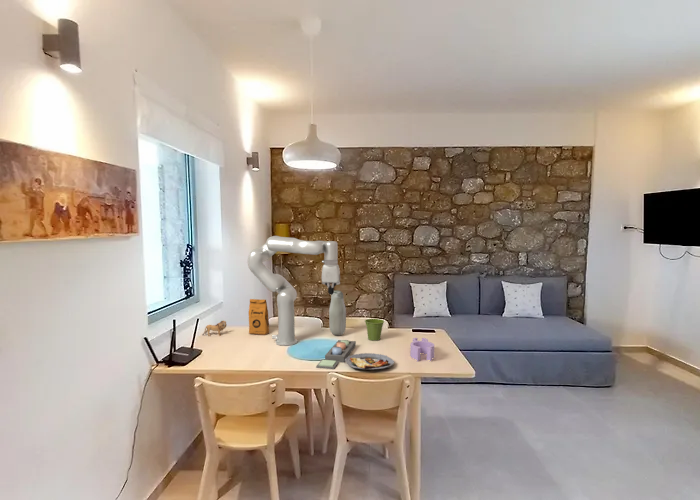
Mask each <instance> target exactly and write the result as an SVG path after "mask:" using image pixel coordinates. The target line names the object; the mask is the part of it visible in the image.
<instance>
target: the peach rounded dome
mask: <svg viewBox="0 0 700 500" xmlns="http://www.w3.org/2000/svg"><path fill="white" fill-rule="evenodd" d="M337 347H341V348H342V350H346V343H345V342H338V343H337Z"/></svg>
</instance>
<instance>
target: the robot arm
mask: <svg viewBox="0 0 700 500" xmlns="http://www.w3.org/2000/svg"><path fill="white" fill-rule="evenodd" d="M338 245H339V244H338V242H337V241H335V240H334V241H333V240H328V241H325V240H314V241H313V240H303V239H298V238H296V237H286V236H279V235H273V236H270V237H268V238H267V239H266V241H265V243H264V244H263V245H261V246H260V247H258V248H255V249H253V250H251V251H250V252H249V254H248V256H247V262H246V263H247V266H248V269H249V270H250V272H251V273H252V274H253V275H254V276H255V277H256V279H258V281H260V283H261V284H262V285H263V286H264V287H265V288H266V289H267V290H268V291H269V292H272V293H275V292H276V293H277V296H276V304H277V333H278V334H272V335H271V338H272V339H275V344H276V345H278V346H293V345H295V344H297V343H298V339H297V338H295V335H296V334H295V330H296V329H295V301H296V300H297V298H298V292H297V289H295V287H293V285H292V284H291V283H290V282H289V281H288V280H287V279H286V278H285V277H284V276H283V275H281V274H279V273H274V272H273V271H272V270H271V269H270V268H269V267H267V266H266V264H264V262H266V261H267V260H269V259H270V258H271V257H272V256H274V255H275V254H277V253H278V252H282V253H291V254H292V253H293V254H303V255H312V256H313V255H315V256H317V255H319V254H320V255H321V254H324V257H323V258H324V259H323V260H321V263H322V264H323V265H322V268H321V285H325V286H326V287H327V289H328V290H327V292H328V295H329V296H330V295H332V294H333V293H334V291H335V287H336V286H337V285H341V271H340V265H339V264H338V263H339V262H338V254H339V253H338V251H339V250H338Z"/></svg>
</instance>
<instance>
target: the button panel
mask: <svg viewBox="0 0 700 500" xmlns="http://www.w3.org/2000/svg"><path fill="white" fill-rule="evenodd" d="M341 340H342V339H339V340H337V341H336V342H335V343H334V345H332V347H331V348H330V349H329V350H328V351H327V352H326V354H325V355H324V356H325V357H324V360H332V361H339V363H346V362H345V358H347V357H349V356H351V353H352V352H353V351H354V349H355V348H356V346H357V345H356V341H355V340H349V345H346V350H342V355H333V354H332V348H333V347H337V343H338V342H341Z"/></svg>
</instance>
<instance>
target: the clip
mask: <svg viewBox="0 0 700 500" xmlns="http://www.w3.org/2000/svg"><path fill="white" fill-rule="evenodd" d="M409 349H410V351H409V353H410V355H409V357H410V356H411V357H412V358H414V359H413V360H415V359H416V360H417V361H416V360H415V361H416V362H420V361H421V354H420V353H424V354H423V355H426V354H427V355H426V361H427V360H430V361H431V360H432V361H433V359H432V358H434V359H435V343H433V342H431V341H429V339H428V338H425V337H422V338H421V340H418V337H413V338H412V342H410V348H409ZM411 357H410V358H411ZM412 358H411V359H412ZM419 360H420V361H419ZM430 361H429V362H430ZM432 361H431V362H432Z"/></svg>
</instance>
